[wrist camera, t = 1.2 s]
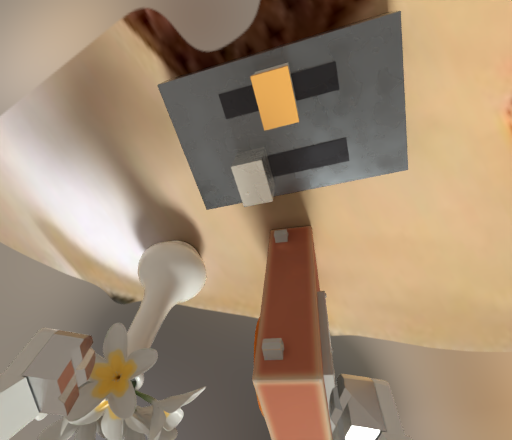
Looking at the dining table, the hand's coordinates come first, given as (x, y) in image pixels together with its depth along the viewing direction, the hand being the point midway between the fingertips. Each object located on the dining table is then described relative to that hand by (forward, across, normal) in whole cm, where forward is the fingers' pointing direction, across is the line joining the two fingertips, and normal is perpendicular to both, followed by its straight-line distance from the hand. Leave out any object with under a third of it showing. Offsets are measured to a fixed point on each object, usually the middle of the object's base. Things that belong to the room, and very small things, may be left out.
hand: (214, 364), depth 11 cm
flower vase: (+30, +10, +21) cm, 38 cm away
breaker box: (+30, -2, -2) cm, 30 cm away
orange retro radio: (+30, -8, +18) cm, 36 cm away
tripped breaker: (+25, -1, -5) cm, 26 cm away
